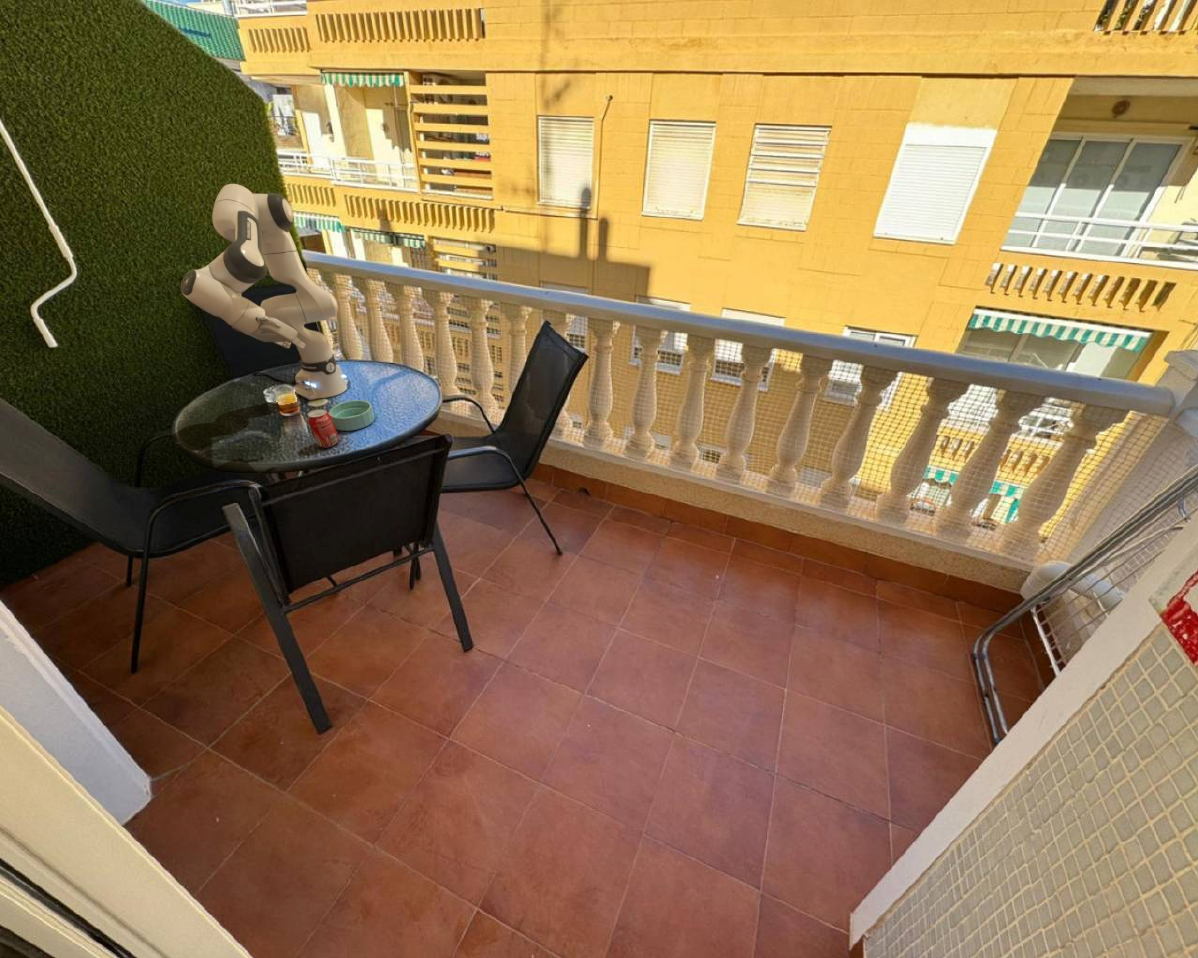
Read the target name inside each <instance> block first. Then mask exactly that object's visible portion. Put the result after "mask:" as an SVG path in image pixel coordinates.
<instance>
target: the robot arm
mask: <svg viewBox="0 0 1198 958" xmlns="http://www.w3.org/2000/svg"><path fill="white" fill-rule="evenodd" d="M211 216H212V217H211V218H212V220H211V221H212V225H213V227H214V230H215V231H216V232H217V233H218V235H220V237H223V238H224V239H225V240H227V241H228V242H231V243H230V244H229V245H228V246H227V247H226V248H225V250H224V251H223V252H221V253H220V254H219V255H217V256H216V258H214V259H213V260H212V261H210V262H209V263H208V264H207V265H205V266H204V267H201V268H199V269H190V270H188V271H187V272H186V274H185V275H184V276H183V279H182V280H181V283H180V292H181V294H182V295H183V296H184V297H185V298H186V300H188V301H189V302H190V303H192V304H193V305H195V306H197V307H198V308H199V309H201V310H202V311H204V312H206V313H208V314H210V315H211V316H214V317H217V318H219V319H221V320H223V321H224V322H225V323H226V324H227V325H229V326H231V328H232V329H233V330H235V331H237V332H240V333H242V334H245V335H246V336H250V337H252V338H254V339H256V340H258V341H261V342H263V343H274V344H276V345H279V346H281V347H282V348H284V349H290V347H291V346H292V344H293V345H294V346H295V347H296V349H297V352H298V353H299V356H300V359H299V360H298V364H301V369H300V370H297V371H295V372H293V381H287V380H285V379H282V378H280V377H276V376H274V375H272V374H270V373H267V372H263V373H260V372H261V371H254V373H253V374H252V375H253V376H256V375H257V374H258V375H259V374H260V375H264V376H268V377H270V378H272V379H273V380H276V381H280V382H283V383H286V384H295V385H294V386H293V387H295V389H296V393H295V394H297V395H299V396H301V397H302V398H305V399H307V400H309V401H311V400H316V399H326V398H331V397H335V396H338V395H341V394H343V393H344V392H345V391H347V390H348V384H349V381H348V379H346V378H347V375H346V374H343V371H342V369H341V367H340V365H338V364H337V360H336V357H335V354H333V352H332V349H331V346H330V343H329V340H328V338H327V337H326V335H325V334H323V333H322V332H320V331H317V330H311V329H308V328H307V327H305V325H306V324H312V323H317V322H323V321H326V320H329V319H332V318H334V317H336V316H337V314H338V311H339V304H338V301H337V299H336V297H335V296H334V295H333V294H332V293H331V292H330V291H328V290H326V289H324V288H323V287H320V286H319V285H318V284H317V283H315V282H314V280H312V279H311V277H310V276H309V275H308V273H307V271H306V269H305V267H304V264H303V263H302V260H301V257H300V254H299V252H298V250H297V246H296V244H295V241H294V238H293V237H292V235H291V233H290V229H291V228H292V227H293V225H294V223H295V222H294V221H295V216H294V211H293V209H292V206H291V204H290V202H289V201H288V200H287V198H286V197H284V195H282V194H280V193H275V192H269V193H253V192H252V191H251V190H249V189H248V188H247V187H245V186H243V185H242V184H238V183H227V184H225V185H223V187H221V188H220V191H219V192H218V194H217V196H216V198H215V201H214V205H213V208H212V215H211ZM268 273H269V275H270V276H271V278H272V280H275V281H277V282H279V283H281V284H284V285H288V286H291V287H293V288H294V289H295V290H296V292H294V293H288V294H280V295H274V296H272V297H269V298H266V299H263V300H262V301H261V303H260V306H259V305H258V304H256V303H254V302H253V301H251V300H250V299H249V298H246V297H244V296H242V294H243V293H244V292H246V290H248V289H249V288H250V287H252V286H253V285H254V284H256V283H257V282H259V281H260V280H262V279H264V278H265V277H266V276H267V274H268Z"/></svg>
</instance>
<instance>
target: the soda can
mask: <svg viewBox="0 0 1198 958" xmlns="http://www.w3.org/2000/svg"><path fill="white" fill-rule="evenodd" d="M307 422H308V426H309V429H310V431H311V433H312V436H313V438H314V442H315V443H316V445H317V446H318V447H320V448H324V449H325V448H331V447H334V446H335V445H336V444H338V442H339V441H340V440H339V439H340V438H339V435H338V432H337V429H336V428H335V426H334V424H333V421H332V418H331V416H330V414H329V412H328V411H327V409H324V408H317V409H313V410H311V411H309V412H308V413H307Z"/></svg>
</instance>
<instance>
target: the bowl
mask: <svg viewBox="0 0 1198 958" xmlns="http://www.w3.org/2000/svg"><path fill="white" fill-rule="evenodd" d="M328 413H329V414H330V416H331V418H332V421H333V424H334V426H335V429H336V430H338V431H343V432H344V431H346V432H348V431H349V432H350V431H355V430H361V429H363V428H366V427H367V426H369V425H371V424H372V423H373V422H374V421H375V420H376V416H375V413H374V409H373V406H372V404H371V402H369V401H368V400H361V399H354V400H347V401H343V402H341V403H337V404H336V405H334V406H332V408H330V409H329V411H328Z"/></svg>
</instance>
